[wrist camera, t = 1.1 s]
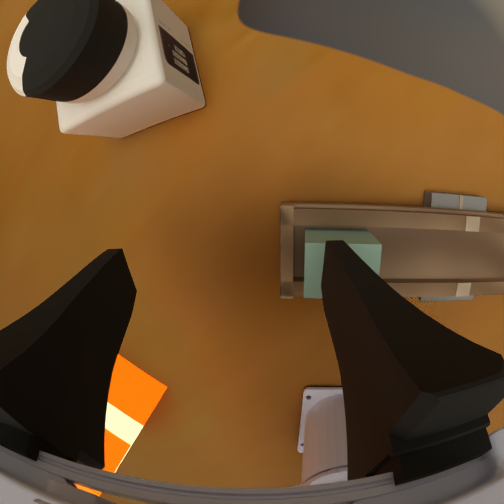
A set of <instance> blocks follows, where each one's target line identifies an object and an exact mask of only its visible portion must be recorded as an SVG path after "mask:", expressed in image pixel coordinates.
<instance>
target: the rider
mask: <svg viewBox="0 0 504 504" xmlns="http://www.w3.org/2000/svg"><path fill="white" fill-rule="evenodd" d="M329 240H343V241H345V242H346V243H347V244H348V245H349V246H350V247H351V248H352V250H353V251H354V252H355V253H356V254H357V255H358V256H359V257H360V258H361V259H362V260H363V261H364V262H365V263H366V264H367V265H368V266H369V267H370V268H371V269H372V270H373V271H374V272H375V273H376V274H378V275H379V272H380V262H381V250H382V244H381V243H380V242H379V241H378V240H377V239H376V238H375V237H374V236H373V235H372V234H371V233H370V232H369V231H368V230H364V229H321V228H305V260H304V298H322V291H321V280H322V272H323V263H324V253H325V243H326V241H329Z"/></svg>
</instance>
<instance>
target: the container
mask: <svg viewBox="0 0 504 504" xmlns="http://www.w3.org/2000/svg"><path fill="white" fill-rule="evenodd" d="M7 73H8V78H9V80H10V83H11V85H12V87H13V89H14V90H15V91H16V92H17V93H18V94H20V95H22V96H26V97H33V98H40V99H46V100H53V101H56V103H57V111H58V119H59V127H60V131H61V132H62V133H65V134H80V135H93V136H105V137H115V138H124V137H126V136H128V135H131V134H133V133H136V132H138V131H140V130H143V129H145V128H148V127H150V126H153V125H155V124H158V123H161V122H163V121H166V120H169V119H171V118H174V117H177V116H180V115H183V114H186V113H188V112H191V111H194V110H197V109H200V108H203V107H204V106H205V99H204V95H203V91H202V87H201V82H200V78H199V74H198V70H197V66H196V61H195V57H194V53H193V49H192V44H191V40H190V36H189V32H188V27H187V26H186V25H185V24H184V23H183V22H182V21H181V20H180V19H179V18H178V16H177V15H176V14H175V13H174V12H173V11H172V10H171V9H170V8H169V7H168V6H167V5H166V4H165V3H164V2H163V1H162V0H38V1H37V2H36V3H35V4H34V5H33V6H32V7H31V8H30V10H29V11H28V12H27V13H26V15H25V16H24V18H23V19H22V21H21V22H20V24H19V26H18V28H17V30H16V32H15V34H14V36H13V39H12V42H11V45H10V48H9V52H8V58H7Z"/></svg>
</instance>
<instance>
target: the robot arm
mask: <svg viewBox="0 0 504 504" xmlns="http://www.w3.org/2000/svg"><path fill="white" fill-rule="evenodd" d="M321 291H322V298H323V305H324V311H325V315H326V319H327V322H328V326H329V330H330V334H331V337H332V341H333V345H334V349H335V352H336V356H337V360H338V364H339V369H340V374H341V382H342V387H307V388H305V389H304V392H303V402H302V412H301V422H300V431H299V440H298V449H297V450H298V452H300V453H303V462H302V475H301V484H299V485H294V486H293V487H282V488H220V487H204V486H192V485H183V484H174V483H167V482H160V481H153V480H147V479H142V478H136V477H131V476H126V475H122V474H117V473H113V472H108V471H104V470H102V469H104V468H105V422H106V411H107V402H108V395H109V389H110V383H111V378H112V373H113V369H114V365H115V362H116V359H117V356H118V353H119V350H120V347H121V344H122V341H123V338H124V335H125V332H126V329H127V327H128V324H129V321H130V318H131V315H132V311H133V307H134V302H135V297H136V292H137V290H136V288H135V285H134V282H133V279H132V276H131V274H130V271H129V268H128V265H127V262H126V259H125V256H124V253H123V250H122V249H108V250H106V251H105V252H103V253H102V254H101V255H99V256H98V257H97V258H95V259H94V260H93V261H92V262H91V263H89V264H88V265H87V266H86V267H85V268H83V269H82V270H81V271H80V272H79V273H78V274H76V275H75V276H74V277H73V278H72V279H71V280H69V281H68V282H67V283H66V284H65V285H63V286H62V287H61V288H60V289H59V290H57V291H56V292H55V293H54V294H53V295H51V296H50V297H49V298H48V299H46V300H45V301H44V302H42V303H41V304H40V305H39V306H37V307H36V308H34V309H33V310H32V311H30V312H29V313H27V314H26V315H24V316H23V317H21V318H20V319H18V320H16V321H15V322H13V323H12V324H10V325H9V326H7V327H5V328H4V329H2V330H0V504H116V503H113V502H110V501H108V500H105V499H103V498H101V497H99V496H97V495H95V494H92V493H89V492H87V491H84V490H81V489H78V488H77V486H76V485H75V484H77V485H80V486H83V487H86V488H89V489H93V490H96V491H100V492H103V493H107V494H111V495H115V496H119V497H123V498H127V499H132V500H136V501H141V502H146V503H152V504H504V427H502V428H500V429H498V430H496V431H494V432H493V433H491V434H489V435H488V433H487V430H486V427H488V426H489V425H490V420H489V417H488V413H489V412H490V411H491V410H492V409H493V408H494V407H495V406H496V405H497V404H498V403H499V402H500V401H501V400H502V399H503V398H504V359H503V357H502V355H501V354H498V353H496V352H494V351H492V350H489V349H487V348H485V347H483V346H480V345H478V344H476V343H474V342H472V341H470V340H468V339H466V338H464V337H462V336H460V335H459V334H457V333H455V332H453V331H451V330H450V329H448V328H446V327H445V326H443V325H442V324H440V323H438V322H437V321H435V320H434V319H432V318H431V317H429V316H428V315H426V314H425V313H423V312H422V311H421V310H419V309H418V308H417V307H415V306H414V305H413V304H411V303H410V302H409V301H407V300H406V299H405V298H404V297H402V296H401V295H400V294H399V293H397V292H396V291H395V290H394V289H393V288H392V287H391V286H390V285H388V284H387V283H386V282H385V281H384V280H383V279H382V278H381V277H380V276H379V275H378V274H376V273H375V272H374V271H373V270H372V269H371V268H370V267H369V266H368V265H367V264H366V263H365V262H364V261H363V260H362V259H361V258H360V257H359V256H358V255H357V254H356V253H355V252H354V251H353V250H352V248H351V247H350V246H349V245H348V244H347V243H346V242H345V241H343V240H329V241H326V243H325V253H324V263H323V272H322V280H321ZM307 396H310V397H307ZM302 443H304V444H302Z"/></svg>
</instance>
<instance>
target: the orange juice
mask: <svg viewBox="0 0 504 504" xmlns="http://www.w3.org/2000/svg"><path fill="white" fill-rule="evenodd" d="M166 389H167V386H165V385H163V384H162V383H160V382H159V381H157V380H156V379H154V378H152V377H151V376H149V375H148V374H146V373H145V372H143V371H142V370H140V369H139V368H137V367H136V366H135V365H133V364H132V363H130V362H129V361H127V360H126V359H124V358H123V357H122V356H120V355H119V354H118V356H117V359H116V362H115V365H114V369H113V373H112V378H111V383H110V389H109V395H108V402H107V411H106V422H105V468H104V469H102V470H104V471H108V472H113V473H114V472H115V471H116V470H117V468H118V467H119V465H120V463H121V462H122V460H123V459H124V457H125V455H126V454H127V452H128V451H129V449H130V447H131V446H132V444H133V442H134V441H135V439H136V437H137V436H138V434H139V433H140V431H141V429H142V428H143V426H144V424H145V423H146V421H147V420H148V418H149V416H150V415H151V413H152V412H153V410H154V408H155V407H156V405H157V403H158V402H159V400H160V398H161V397H162V395H163V394H164V392H165V390H166ZM75 485H76V486H77V488H78V489H81V490H84V491H87V492H89V493H92V494H95V495H97V496H100V494H101V493H102V492H100V491H96V490H93V489H89V488H86V487H83V486H80V485H77V484H75Z"/></svg>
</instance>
